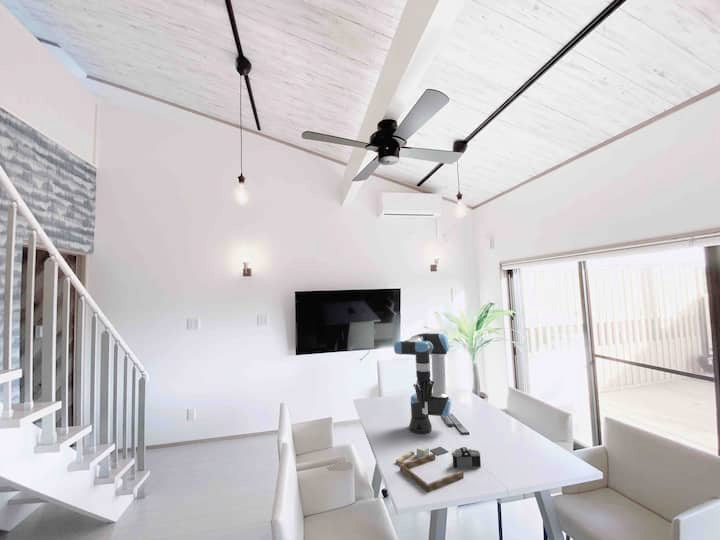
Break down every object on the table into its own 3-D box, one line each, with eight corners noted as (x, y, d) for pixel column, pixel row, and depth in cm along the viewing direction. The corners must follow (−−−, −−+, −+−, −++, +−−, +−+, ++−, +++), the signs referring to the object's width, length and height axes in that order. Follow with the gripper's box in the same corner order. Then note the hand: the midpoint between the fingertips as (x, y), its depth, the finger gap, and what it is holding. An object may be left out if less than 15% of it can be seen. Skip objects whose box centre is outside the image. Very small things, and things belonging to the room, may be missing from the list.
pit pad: (440, 447, 200) (440, 446, 200) (448, 452, 194) (448, 451, 194) (429, 450, 196) (429, 449, 196) (437, 455, 190) (437, 454, 190)
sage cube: (421, 454, 193) (421, 445, 193) (429, 456, 190) (428, 447, 190) (417, 457, 189) (416, 448, 189) (424, 460, 186) (424, 451, 186)
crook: (412, 454, 193) (411, 450, 193) (421, 458, 188) (421, 455, 188) (396, 463, 184) (396, 460, 184) (405, 467, 179) (405, 464, 179)
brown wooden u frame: (434, 458, 187) (433, 453, 187) (463, 477, 167) (463, 471, 168) (400, 470, 176) (400, 464, 176) (427, 492, 156) (427, 486, 157)
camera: (477, 460, 184) (476, 441, 184) (483, 469, 175) (482, 449, 175) (449, 461, 184) (448, 442, 185) (453, 469, 175) (452, 450, 176)
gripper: (427, 366, 188) (429, 408, 187) (409, 370, 182) (411, 414, 181) (436, 369, 182) (438, 413, 181) (418, 373, 175) (420, 418, 174)
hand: (425, 413), depth 181 cm, fingers closed
